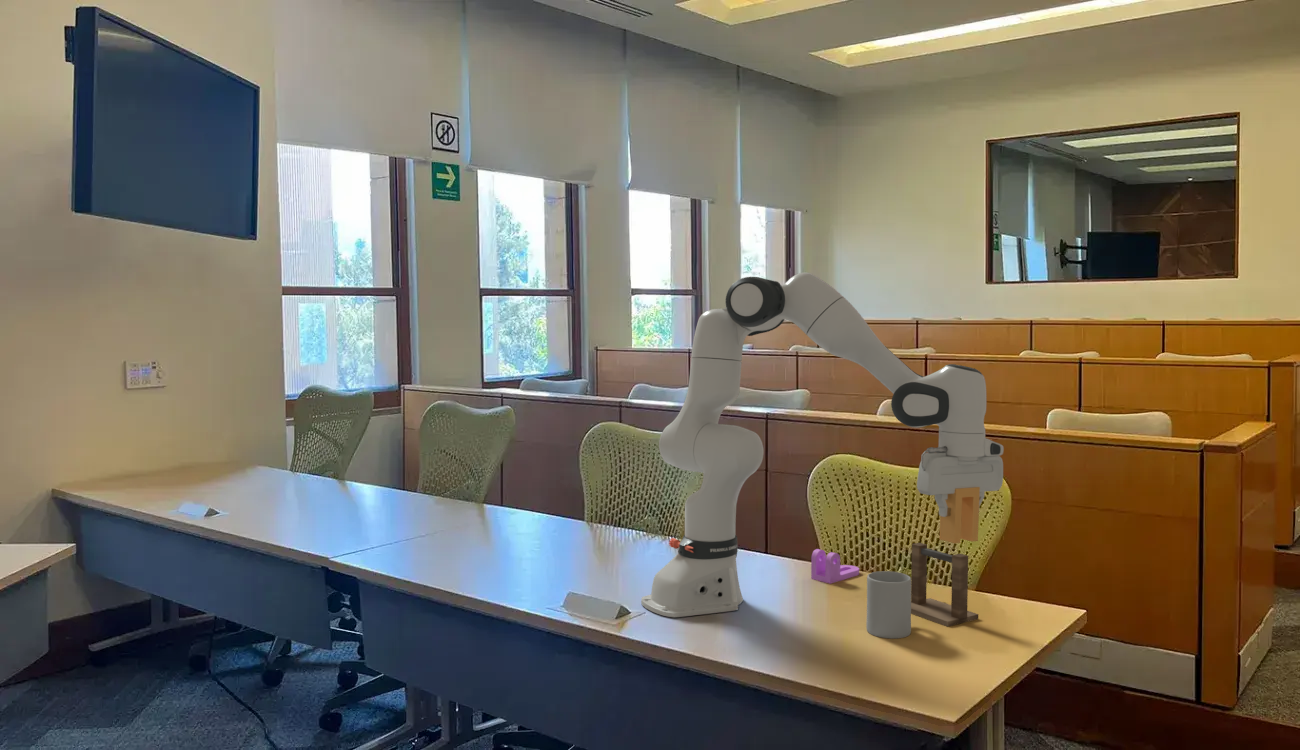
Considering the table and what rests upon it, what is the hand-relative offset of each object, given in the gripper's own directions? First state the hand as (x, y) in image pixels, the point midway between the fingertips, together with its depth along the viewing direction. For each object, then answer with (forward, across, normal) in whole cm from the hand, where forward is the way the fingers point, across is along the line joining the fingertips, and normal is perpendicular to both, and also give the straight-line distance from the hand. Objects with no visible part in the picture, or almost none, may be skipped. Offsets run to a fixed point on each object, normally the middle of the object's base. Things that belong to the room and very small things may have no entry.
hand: (959, 514), depth 189 cm
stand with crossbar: (+22, +2, +7) cm, 23 cm away
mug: (+23, -13, +4) cm, 27 cm away
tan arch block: (+5, 0, 0) cm, 5 cm away
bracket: (+22, +2, +40) cm, 46 cm away
